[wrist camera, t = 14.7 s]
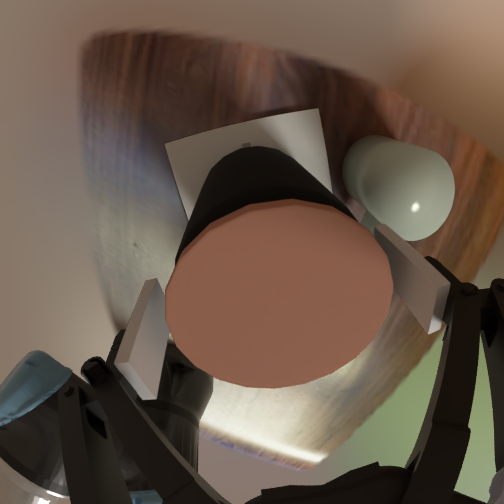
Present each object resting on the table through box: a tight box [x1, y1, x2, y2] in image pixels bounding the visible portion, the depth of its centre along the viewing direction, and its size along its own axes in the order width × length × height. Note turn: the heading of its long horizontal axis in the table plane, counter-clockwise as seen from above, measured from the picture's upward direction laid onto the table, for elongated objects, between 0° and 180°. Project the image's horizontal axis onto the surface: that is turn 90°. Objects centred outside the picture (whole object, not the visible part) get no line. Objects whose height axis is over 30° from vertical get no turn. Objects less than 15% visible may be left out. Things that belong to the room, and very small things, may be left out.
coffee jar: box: [165, 146, 393, 388], centre depth 20 cm, size 11×11×18 cm
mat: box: [165, 108, 332, 220], centre depth 29 cm, size 15×15×1 cm
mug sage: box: [342, 135, 455, 241], centre depth 25 cm, size 10×8×9 cm
